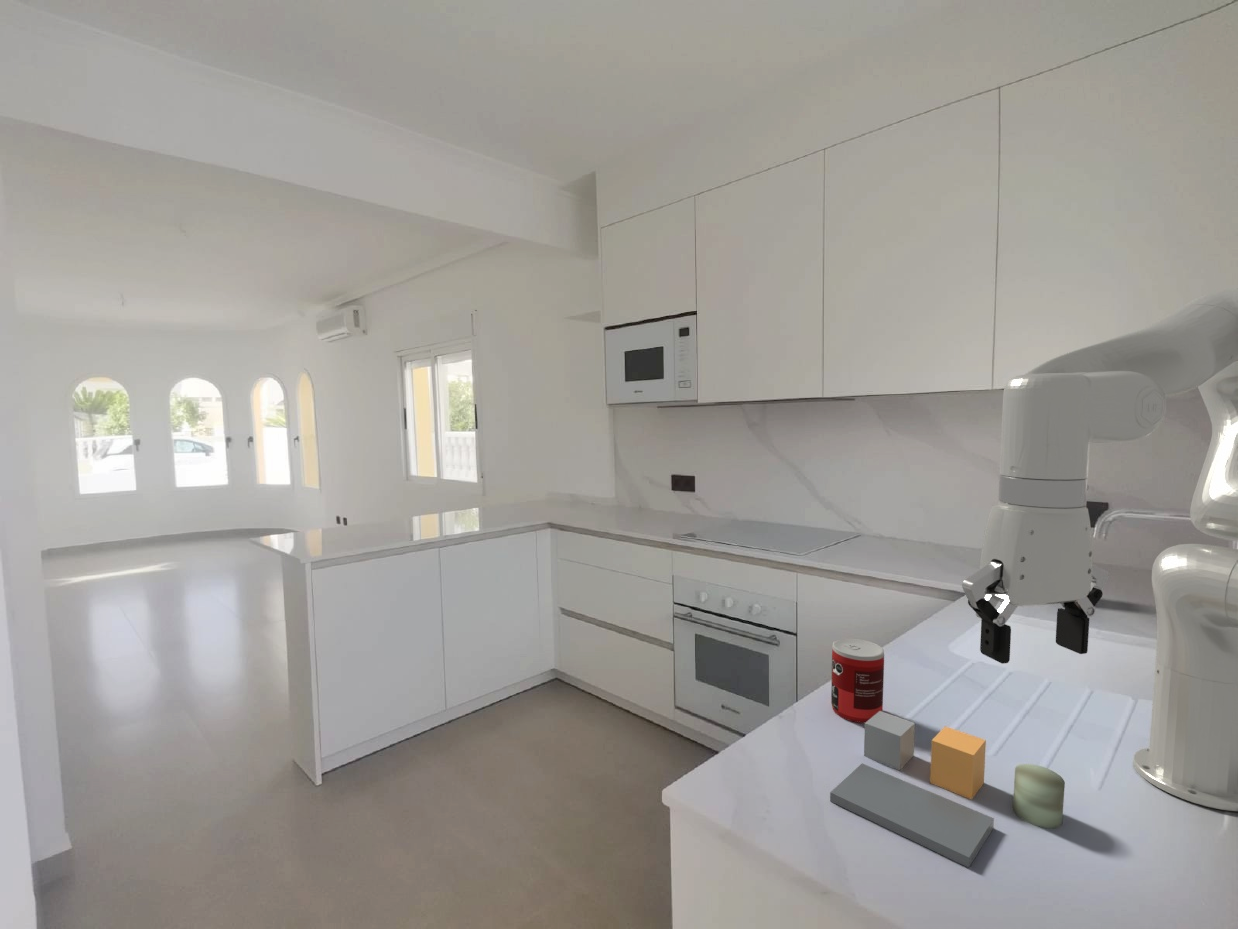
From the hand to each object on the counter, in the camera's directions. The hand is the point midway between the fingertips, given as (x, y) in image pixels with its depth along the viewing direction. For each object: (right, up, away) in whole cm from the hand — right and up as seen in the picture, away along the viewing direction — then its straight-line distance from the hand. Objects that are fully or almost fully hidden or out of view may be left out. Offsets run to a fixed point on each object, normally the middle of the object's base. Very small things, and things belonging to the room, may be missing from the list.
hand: (1033, 653), depth 65 cm
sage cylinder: (+7, -23, +10) cm, 26 cm away
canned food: (-5, -21, +36) cm, 42 cm away
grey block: (-5, -22, +23) cm, 32 cm away
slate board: (-8, -23, +10) cm, 27 cm away
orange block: (+1, -22, +17) cm, 28 cm away
